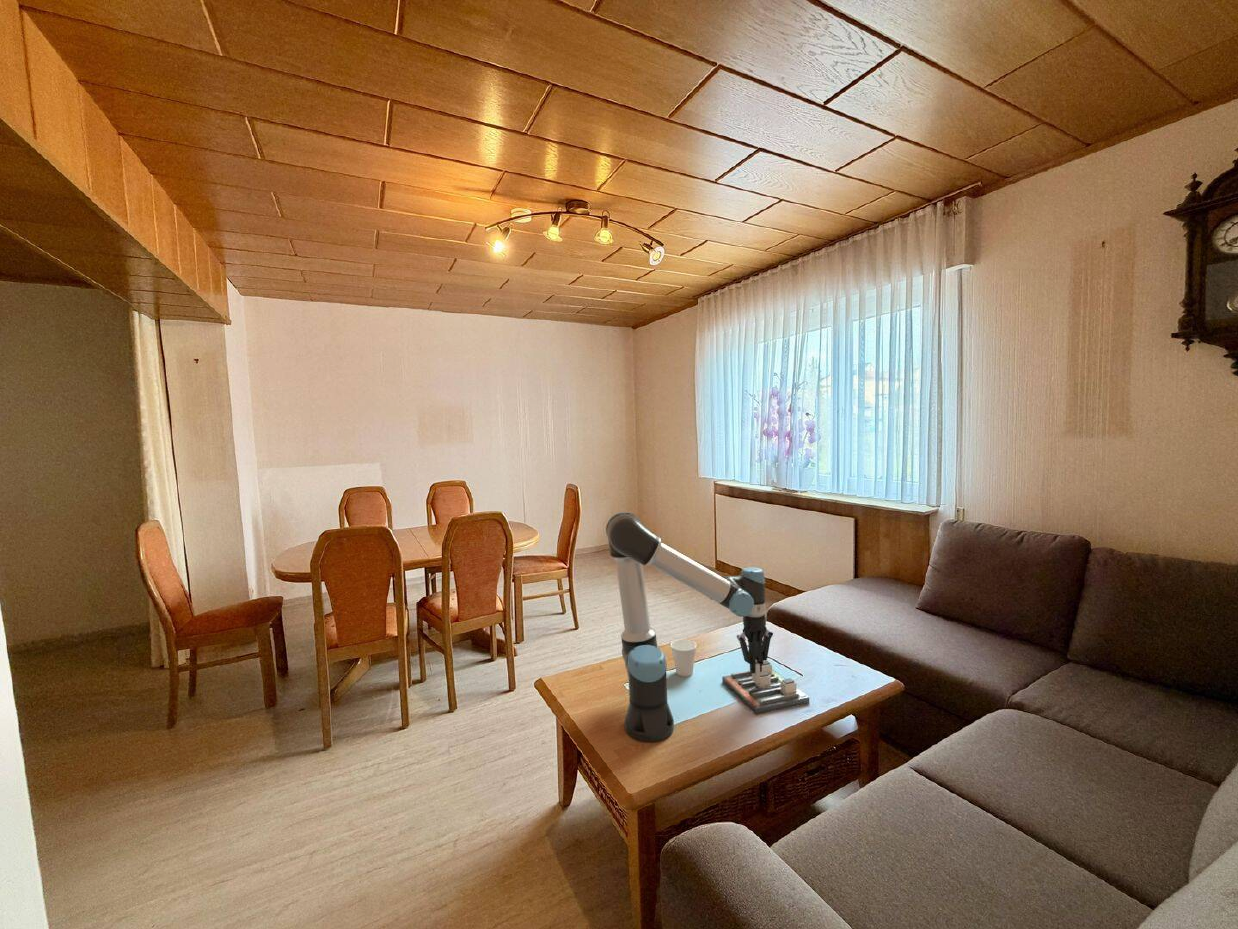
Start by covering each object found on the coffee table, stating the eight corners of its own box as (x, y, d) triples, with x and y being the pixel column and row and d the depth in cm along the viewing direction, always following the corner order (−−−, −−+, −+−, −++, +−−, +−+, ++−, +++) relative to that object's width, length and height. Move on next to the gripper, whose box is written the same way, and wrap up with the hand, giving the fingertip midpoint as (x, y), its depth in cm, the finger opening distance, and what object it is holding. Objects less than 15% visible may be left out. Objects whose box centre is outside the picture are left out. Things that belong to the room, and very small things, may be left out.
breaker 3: (786, 696, 160) (785, 683, 160) (780, 692, 163) (780, 679, 163) (796, 694, 161) (796, 681, 161) (791, 690, 164) (790, 677, 164)
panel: (755, 714, 154) (755, 705, 154) (722, 682, 175) (722, 673, 175) (809, 703, 159) (809, 693, 159) (770, 673, 181) (770, 664, 180)
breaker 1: (762, 677, 173) (762, 665, 173) (757, 673, 176) (757, 661, 176) (772, 675, 174) (772, 663, 174) (767, 671, 177) (767, 659, 177)
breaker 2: (760, 689, 165) (760, 676, 165) (755, 685, 168) (755, 672, 168) (770, 687, 166) (770, 674, 166) (765, 683, 169) (765, 670, 169)
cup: (697, 680, 177) (696, 651, 177) (670, 679, 179) (669, 649, 179) (698, 668, 187) (697, 640, 186) (672, 666, 189) (671, 638, 188)
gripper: (742, 620, 160) (745, 690, 161) (777, 614, 163) (779, 683, 164) (731, 612, 167) (733, 679, 168) (764, 607, 170) (766, 673, 172)
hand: (756, 681), depth 166 cm, fingers closed
